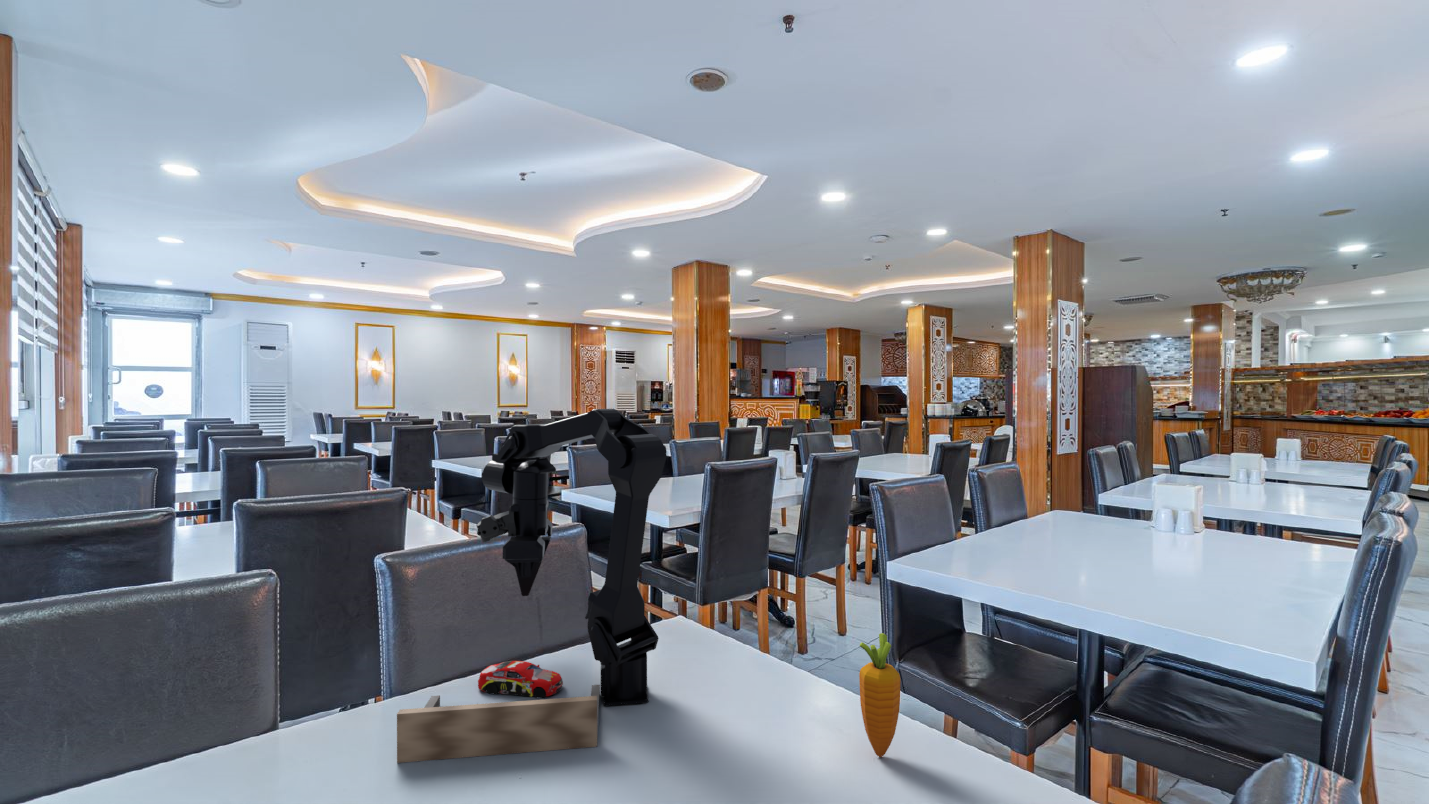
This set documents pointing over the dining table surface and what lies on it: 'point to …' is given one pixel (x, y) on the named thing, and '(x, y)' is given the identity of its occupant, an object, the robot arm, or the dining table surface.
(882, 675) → the carrot
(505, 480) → the robot arm
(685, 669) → the dining table surface
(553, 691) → the race car
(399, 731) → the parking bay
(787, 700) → the dining table surface
